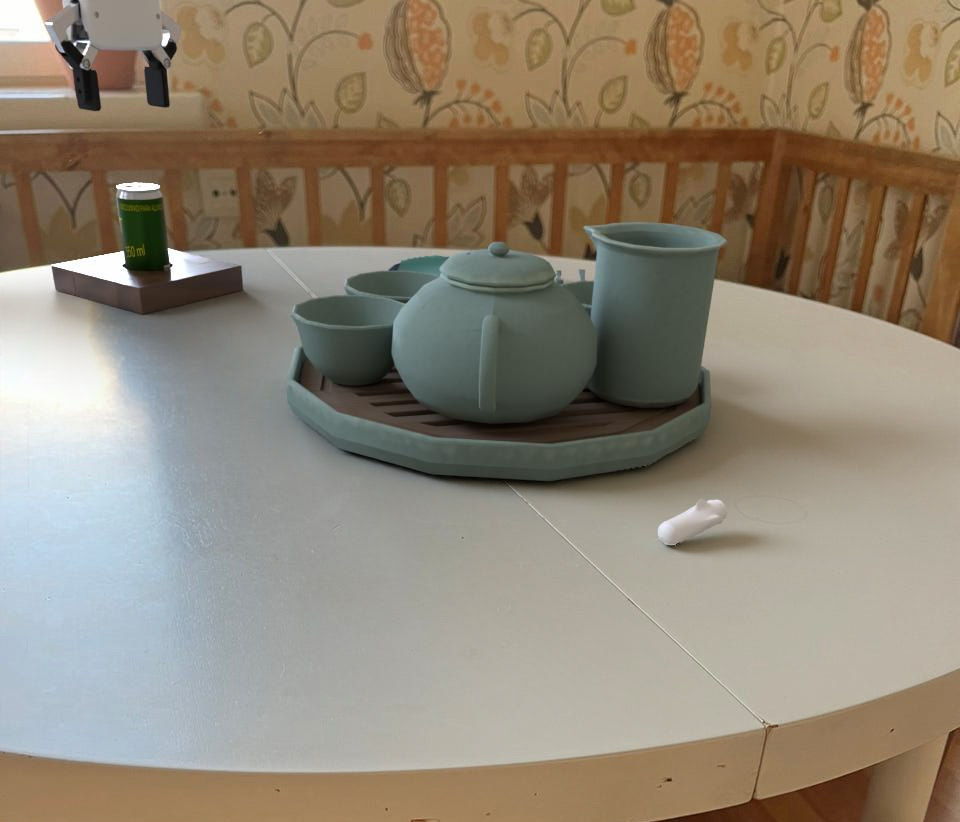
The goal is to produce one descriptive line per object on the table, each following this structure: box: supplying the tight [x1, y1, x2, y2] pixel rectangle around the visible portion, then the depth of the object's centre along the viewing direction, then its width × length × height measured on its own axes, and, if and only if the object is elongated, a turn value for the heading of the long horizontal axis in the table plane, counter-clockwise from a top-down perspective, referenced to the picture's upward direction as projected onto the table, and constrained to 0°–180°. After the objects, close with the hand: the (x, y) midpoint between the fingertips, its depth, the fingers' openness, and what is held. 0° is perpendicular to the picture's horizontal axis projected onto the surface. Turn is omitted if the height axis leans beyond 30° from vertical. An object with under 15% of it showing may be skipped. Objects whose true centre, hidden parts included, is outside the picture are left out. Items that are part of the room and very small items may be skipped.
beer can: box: [115, 182, 171, 271], centre depth 127 cm, size 5×5×12 cm
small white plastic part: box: [654, 497, 728, 545], centre depth 76 cm, size 4×6×3 cm, turn 97°
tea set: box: [285, 221, 728, 482], centre depth 96 cm, size 40×40×16 cm
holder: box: [50, 248, 244, 315], centre depth 130 cm, size 16×16×3 cm
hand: (125, 108), depth 119 cm, fingers open, 9 cm apart
